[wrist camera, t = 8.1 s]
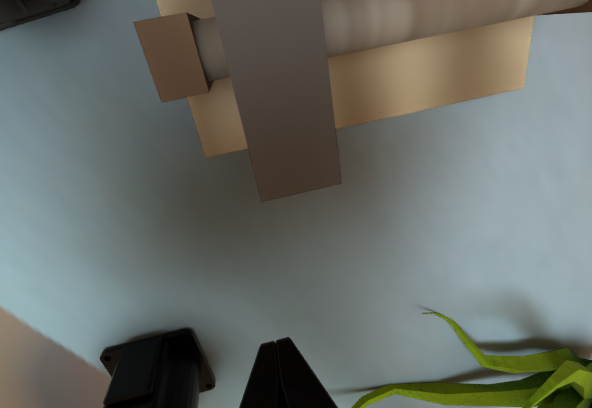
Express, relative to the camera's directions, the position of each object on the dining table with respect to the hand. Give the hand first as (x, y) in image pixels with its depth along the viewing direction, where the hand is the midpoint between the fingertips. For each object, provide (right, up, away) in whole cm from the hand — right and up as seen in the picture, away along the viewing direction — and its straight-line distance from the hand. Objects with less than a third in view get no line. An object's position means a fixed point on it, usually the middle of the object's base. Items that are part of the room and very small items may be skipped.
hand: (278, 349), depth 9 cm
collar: (-1, +11, +5) cm, 12 cm away
